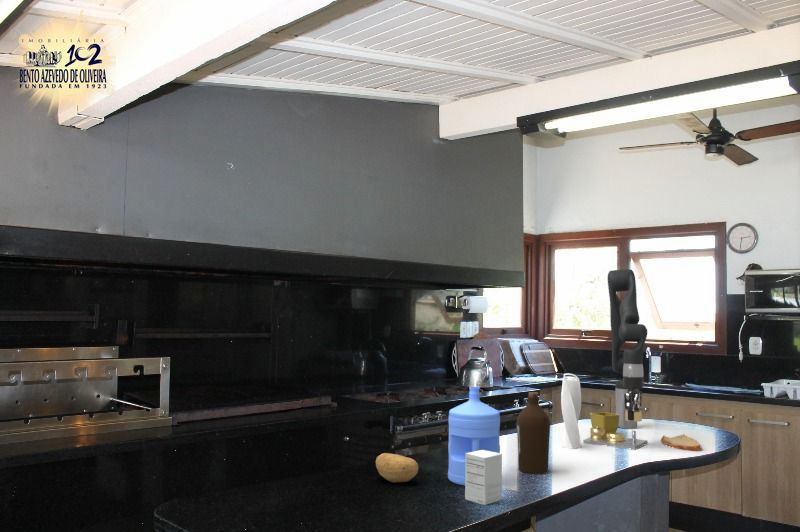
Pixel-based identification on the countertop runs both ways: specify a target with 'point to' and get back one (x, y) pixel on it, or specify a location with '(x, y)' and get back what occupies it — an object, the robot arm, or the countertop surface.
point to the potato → (396, 467)
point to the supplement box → (483, 477)
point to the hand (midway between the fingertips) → (633, 419)
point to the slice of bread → (682, 443)
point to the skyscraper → (571, 411)
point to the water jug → (471, 433)
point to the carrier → (613, 439)
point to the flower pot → (605, 421)
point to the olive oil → (533, 437)
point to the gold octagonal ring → (636, 416)
